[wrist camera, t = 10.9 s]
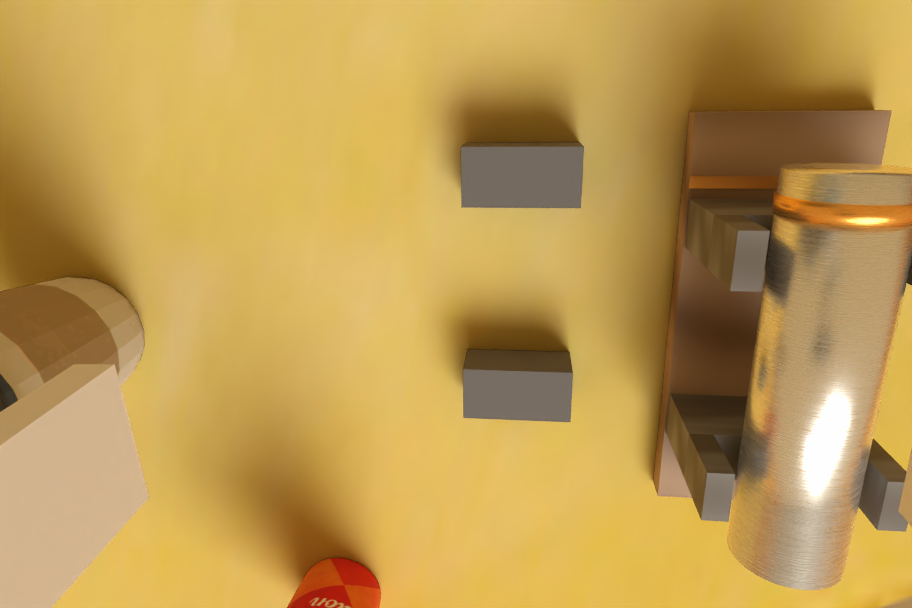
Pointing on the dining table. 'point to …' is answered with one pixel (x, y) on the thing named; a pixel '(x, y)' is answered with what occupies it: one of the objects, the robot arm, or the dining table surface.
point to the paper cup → (337, 586)
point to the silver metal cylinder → (819, 366)
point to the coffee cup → (64, 333)
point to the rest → (520, 186)
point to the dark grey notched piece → (742, 294)
